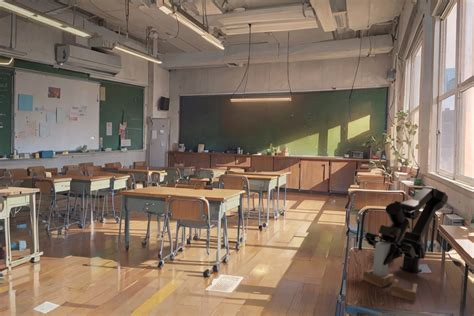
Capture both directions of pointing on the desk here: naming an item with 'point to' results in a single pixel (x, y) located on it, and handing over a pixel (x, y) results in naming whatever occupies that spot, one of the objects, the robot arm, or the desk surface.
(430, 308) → the desk surface
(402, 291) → the end cap
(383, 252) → the slat
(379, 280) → the end cap
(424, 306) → the desk surface
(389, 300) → the desk surface
